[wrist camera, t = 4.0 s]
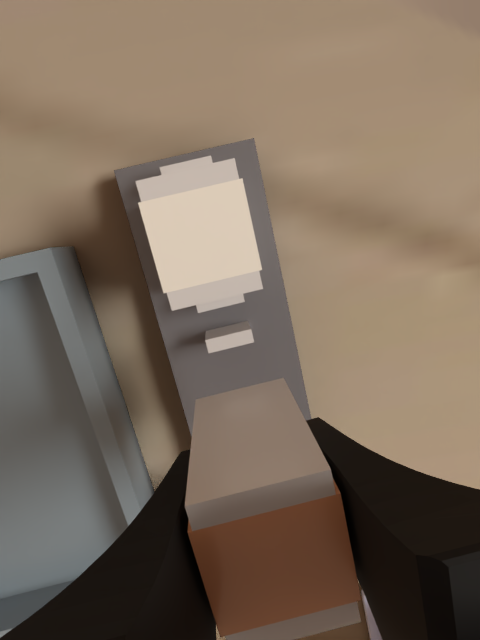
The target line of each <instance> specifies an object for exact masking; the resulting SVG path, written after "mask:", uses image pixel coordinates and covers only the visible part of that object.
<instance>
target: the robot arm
mask: <svg viewBox="0 0 480 640" xmlns="http://www.w3.org/2000/svg"><path fill="white" fill-rule="evenodd" d="M306 422H307V424H308V426H309V428H310V430H311V432H312V434H313V436H314V438H315V440H316V441H317V443H318V445H319V447H320V449H321V451H322V453H323V455H324V457H325V459H326V461H327V463H328V465H329V467H330V469H331V472H332V477H333V479H334V481H335V483H336V485H337V487H338V489H339V491H340V493H341V498H342V503H343V508H344V513H345V518H346V523H347V529H348V534H349V539H350V544H351V549H352V554H353V559H354V565H355V570H356V575H357V579H358V581H359V583H360V585H361V587H362V590H361V596H362V601H363V606H364V611H365V616H366V621H367V627H368V632H369V637H370V640H480V490H479V489H475V488H470V487H467V486H463V485H459V484H455V483H452V482H449V481H445V480H442V479H439V478H436V477H433V476H429V475H426V474H424V473H421V472H418V471H415V470H413V469H410V468H408V467H406V466H403V465H401V464H398V463H396V462H394V461H391V460H389V459H387V458H385V457H383V456H381V455H379V454H377V453H375V452H373V451H371V450H369V449H367V448H366V447H364V446H362V445H360V444H359V443H357V442H355V441H354V440H352V439H350V438H349V437H347V436H346V435H344V434H343V433H341V432H340V431H338V430H337V429H335V428H334V427H332V426H331V425H329V424H328V423H326V422H325V421H323V420H322V419H320V418H319V417H318V418H314V419H310V420H306ZM190 450H191V449H190ZM190 450H186V451H182V452H181V453H180V454H179V456H178V457H177V459H176V460H175V462H174V463H173V465H172V467H171V468H170V470H169V471H168V473H167V474H166V476H165V477H164V479H163V480H162V482H161V483H160V485H159V486H158V488H157V489H156V491H155V492H154V494H153V495H152V496H151V498H150V499H149V500H148V502H147V503H146V504H145V506H144V507H143V508H142V510H141V511H140V512H139V514H138V515H137V516H136V518H135V519H134V520H133V521H132V522H131V524H130V525H129V526H128V527H127V528H126V529H125V531H124V532H123V533H122V534H121V535H120V536H119V537H118V538H117V539H116V540H115V542H114V543H113V544H112V545H111V546H110V547H109V548H108V549H107V550H106V551H105V552H104V553H103V554H102V555H101V556H100V557H99V558H98V559H97V560H96V561H95V562H93V563H92V564H91V565H90V566H89V567H88V568H87V569H86V570H85V571H84V572H83V573H82V574H81V575H80V576H79V577H78V578H76V579H75V580H74V581H73V582H72V583H71V584H70V585H68V586H67V587H66V588H65V589H64V590H63V591H61V592H60V593H59V594H58V595H57V596H55V597H54V598H53V599H52V600H50V601H49V602H48V603H47V604H45V605H44V606H43V607H42V608H40V609H39V610H38V611H36V612H35V613H34V614H32V615H31V616H30V617H29V618H27V619H26V620H24V621H23V622H22V623H20V624H19V625H17V626H16V627H15V628H13V629H12V630H10V631H9V632H8V633H6V634H5V635H3V636H2V637H1V638H0V640H216V622H215V618H214V615H213V612H212V609H211V606H210V602H209V599H208V596H207V593H206V590H205V587H204V583H203V580H202V577H201V574H200V571H199V567H198V564H197V561H196V558H195V555H194V552H193V548H192V545H191V542H190V539H189V536H188V520H189V519H188V516H187V512H186V509H185V498H186V488H187V479H188V469H189V459H190Z"/></svg>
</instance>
